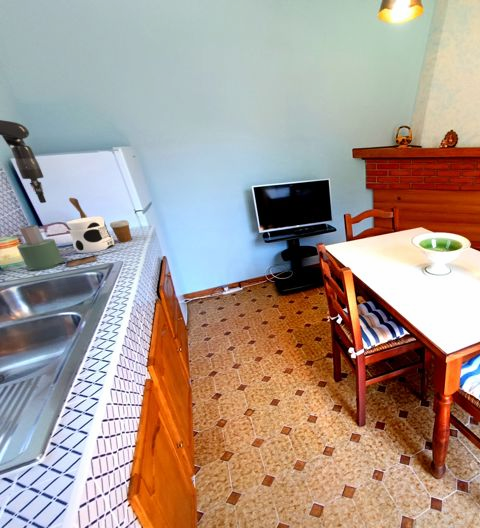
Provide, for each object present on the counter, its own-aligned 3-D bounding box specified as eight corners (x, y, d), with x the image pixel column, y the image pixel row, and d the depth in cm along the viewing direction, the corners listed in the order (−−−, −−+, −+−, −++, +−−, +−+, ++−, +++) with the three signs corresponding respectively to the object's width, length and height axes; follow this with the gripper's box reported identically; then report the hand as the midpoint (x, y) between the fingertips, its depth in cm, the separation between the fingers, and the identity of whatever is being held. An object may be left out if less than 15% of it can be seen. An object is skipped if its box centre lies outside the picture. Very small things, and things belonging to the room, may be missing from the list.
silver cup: (27, 245, 140) (19, 229, 137) (27, 243, 144) (19, 227, 141) (44, 242, 144) (37, 226, 141) (44, 240, 148) (37, 224, 145)
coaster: (68, 267, 145) (68, 266, 144) (67, 262, 152) (66, 261, 152) (97, 260, 152) (96, 259, 151) (94, 256, 159) (93, 255, 159)
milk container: (77, 251, 168) (63, 220, 162) (114, 244, 179) (103, 214, 172) (77, 259, 156) (63, 225, 149) (117, 250, 166) (105, 218, 160)
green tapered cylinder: (27, 273, 140) (14, 249, 135) (27, 266, 149) (16, 244, 144) (66, 264, 149) (56, 241, 144) (64, 258, 158) (54, 237, 153)
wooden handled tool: (89, 247, 175) (69, 199, 165) (86, 241, 188) (67, 196, 178) (103, 244, 180) (85, 197, 169) (99, 238, 193) (82, 195, 182)
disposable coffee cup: (114, 244, 178) (106, 225, 174) (118, 240, 186) (112, 221, 182) (132, 242, 181) (125, 222, 177) (136, 237, 190) (130, 219, 185)
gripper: (18, 168, 147) (32, 201, 153) (18, 169, 137) (32, 204, 143) (39, 167, 152) (52, 199, 158) (40, 167, 143) (54, 202, 148)
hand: (43, 201), depth 150 cm, fingers open, 8 cm apart
